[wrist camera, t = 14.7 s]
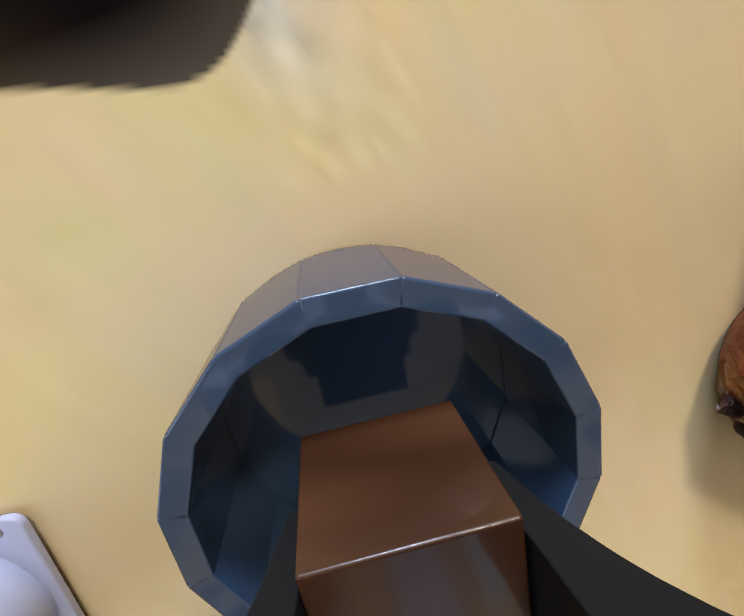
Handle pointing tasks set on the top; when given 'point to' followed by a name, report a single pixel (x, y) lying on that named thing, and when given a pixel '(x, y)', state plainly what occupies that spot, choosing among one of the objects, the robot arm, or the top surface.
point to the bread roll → (732, 375)
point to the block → (407, 522)
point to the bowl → (361, 400)
